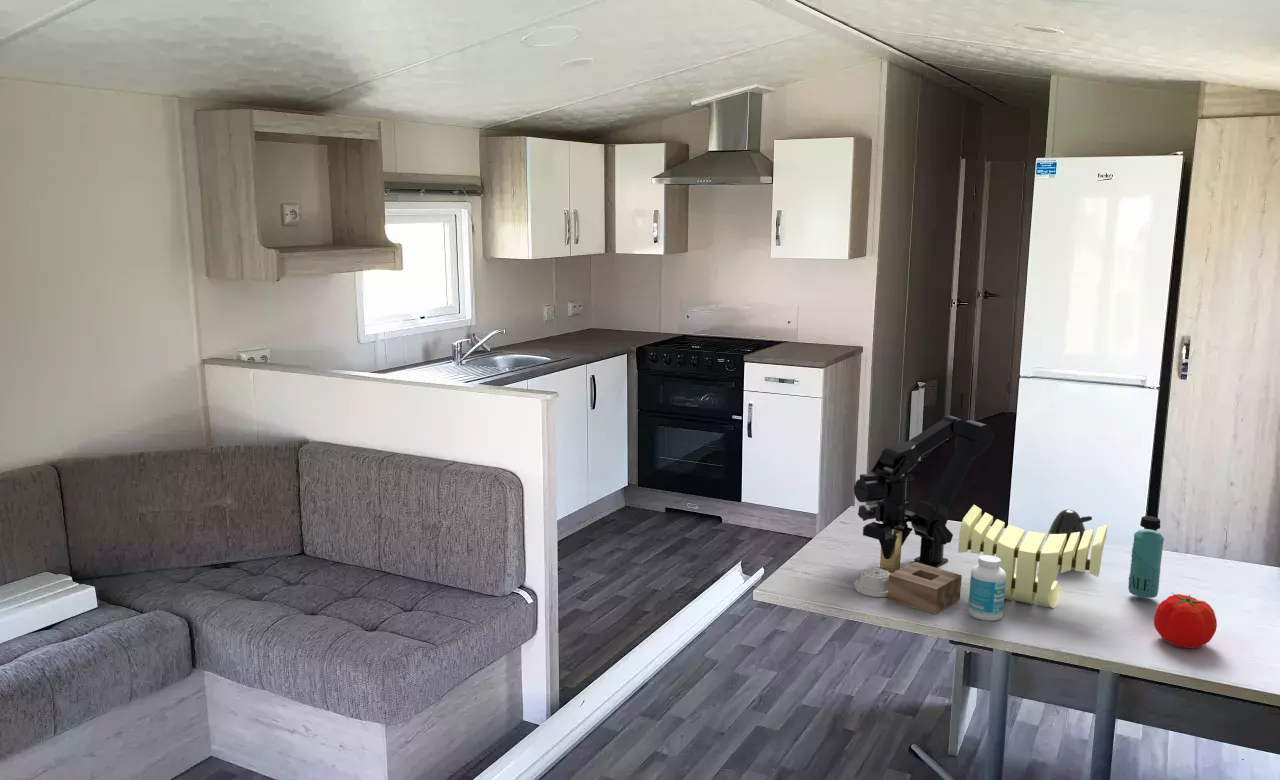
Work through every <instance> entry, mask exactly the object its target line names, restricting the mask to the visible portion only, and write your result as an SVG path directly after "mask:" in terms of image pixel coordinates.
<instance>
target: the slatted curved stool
mask: <svg viewBox="0 0 1280 780" xmlns="http://www.w3.org/2000/svg"><path fill="white" fill-rule="evenodd" d="M982 513H983V512H982V508H980V507H978V506H977V505H975V504H973V505H972V506H971V507H970V509H969V510H968V512H967V513H966V514H965V516H964V517H963V518H962V521H961V524H960V529H959V535H958V536H959V538H958V550H957V551H958V554H959V553H967V552H968V551H970V553H973V554H976V555H977V554H978V555H980V553H982V555H991V556H995V557H998V558H1000V559H1001V565H1000V568H1002V569H1003V570H1004V571H1005V573H1006V585H1005V596H1004V600H1005V599H1006V600H1009V601H1010V600H1012V599H1014V601H1016V602H1021V603H1024V604H1025V603H1026V604H1032V605H1033V604H1034V602H1035V604H1036V605H1037V606H1042V607H1047V608H1051V609H1052V608H1053V609H1055V608H1056V605H1057V604H1058V603H1057V602H1058V600H1059V597H1060V594H1061V592H1062V588H1061V586H1060V583H1059V581H1058V580H1056V578H1057V576H1058V574H1059V571H1060V570H1061V574H1062V573H1065V572H1070V571H1072V570H1071V568H1072V567H1073V568H1075V570H1074V571H1076V572H1081V573H1085V572H1086V571H1088V574H1090V575H1093V576H1095V577H1097V578H1098V577H1099V575H1100V571H1101V564H1102V557H1103V553H1104V552H1103V551H1104V546H1105V541H1106V538H1107V533H1108V524H1105V525H1101V526H1099V527H1097V529H1096V534H1095V536H1094V528H1092V529H1088V530H1087V529H1085V531H1084V534H1083V536H1082V539H1081V542H1080V545H1079V547H1078V550H1077V557H1074V556H1075V552H1076V548H1077V545H1078V542H1079V538H1080V532H1075V533H1071V535H1070V537H1069V540H1068V542H1067V545H1066V547H1065V550H1064V552H1063V555H1062V551H1063V548H1064V545H1065V543H1066V537H1067V534H1049V536H1048V539H1047V541H1046V533H1043V532H1035V531H1029V530H1028V532H1027V534H1026V535H1025V531H1026V530H1025V529H1024V528H1019V527H1017V526H1014V525H1012V524H1008V525H1007V526H1006V527H1005V523H1006V522H1004V521H1003V520H1000V519H998V518H997V519H995V521H994V516H993V515H991V514H989V513H987V512H986V511H985V512H984V514H983V515H982ZM993 521H994V522H993ZM1004 529H1005V530H1004ZM1002 533H1003V534H1002ZM1001 534H1002V535H1001ZM1024 536H1025V537H1024ZM1023 538H1024V539H1023ZM1093 538H1094V539H1093ZM1044 541H1045V542H1046V543H1045V542H1044ZM1092 541H1093V543H1092ZM1043 544H1044V545H1043ZM1091 544H1092V545H1091ZM1042 546H1043V547H1042ZM1041 548H1042V549H1041ZM1090 548H1091V551H1090ZM1089 553H1090V558H1089ZM1088 558H1089V559H1088ZM1038 563H1039V564H1038ZM1059 565H1061V566H1062V569H1059ZM1037 568H1038V569H1037ZM1037 570H1038V572H1037ZM1015 571H1016V573H1015ZM1037 573H1038V574H1037ZM1037 575H1038V576H1037ZM1036 576H1037V577H1036Z"/></svg>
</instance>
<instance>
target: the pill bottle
mask: <svg viewBox="0 0 1280 780" xmlns="http://www.w3.org/2000/svg"><path fill="white" fill-rule="evenodd" d="M977 560H978V561H977V562H978V564H976V565H974V566H973V567H972V568H971V571H970V582H969V593H968V594H969V597H968V607H967V611H968V614H969V615H970V616H972V617H973V618H975V619H977V620H981V621H985V622H995V621H999V620H1001V619H1002V618H1003V615H1004V606H1005V599H1004V596H1005V585H1006V573H1005V571H1004V570H1003V569H1002V568H1000V565H1001V559H1000V558H998V557H996V555H994V556H991V555H983V554H982V555H979V556H978V559H977Z"/></svg>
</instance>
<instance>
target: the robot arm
mask: <svg viewBox="0 0 1280 780" xmlns="http://www.w3.org/2000/svg"><path fill="white" fill-rule="evenodd" d="M955 435H956V436H955ZM953 436H955V451H954V452H953V455H952V456H951V457H950V460H949V462H948V464H947V465H946V468H944V471H943V473H942V475H941V477H940V478H939V480H938V482H937V484H936V485H935V487H934V489H933V491H932V493H931V495H930V497H929V498H928V499H926V500H925V501H923V500H918V501H917V503H916V504H915V507H914V509H913V510H911V511H909V510H906V508H907V507H909V506H910V502H909V501H907V484H908V482H907V481H914V480H915V477H914V476H913V474H911V473H910V471H911V470H913V468H914V467H915V466H917V464H918V462H919V460H920V458H922V456H924V455H925V454H926V453H928V452H930V451H932V450H933V449H935V448H936V447H938V446H939V445H941V444H942V443H945V441H947V440H949V439H950V438H951V437H953ZM994 437H995V434H994V431H993V429H992V427H991V426H990V425H989V424H985V423H982V422H977V421H975V420H972V419H970V420H969V419H968V420H965V421H964V420H962V418H958V417H955V416H952V415H945V416H943V417H942V418H941V419H940V420H939V421H937V422H936V423H934V424H933V425H931V426H930V427H928V428H927V429H925V430H924V431H922V432H920V433H919V434H917V435H916V436H914V437H912V438H911V439H909V440H906V441H903V442H902V441H901V442H898V443H897V442H896V443H894V444H891V445H890V446H887V447H885V448H884V449H883V450H882V451H881V455H880V456H879V458H878V459H877V461H876V462H875V464H874V465H873V467H872V468H871V470H870V473H871V474H867V473H863V474H860V475H859V479H857V480H856V481H855V483H854V485H853V492H854V497H855V498H856V500H857V501H858V502H859V503H869V502H876V501H877V503H875V504H869V505H868V504H862V505H859V506H858V513H857V516H859V518H860V519H862V521H863V522H865V521H867V520H873V519H875V521H872V522H869V523H867V524H866V525H864V526H863V527H862V535H863V536H864V537H868V538H871V539H874V540H878V542H879V546H880V549H881V548H882V552H883V555H884V558H885V559H889V557H890V555H891V553H892V550H893V547H894V545H895V542H896V539H897V536H896V535H893V533H894V529H896V530H900V531H902V543H901V548H902V547H903V545H904V543H906V541H907V538H909V535H911V532H912V531H913V530H914V531H913V532H914V535H915V536H919V537H921V538H920V546H919V547H920V548H919V549H920V550H919V556H917V557H915V558H914V561H913V562H917V563H921V564H924V565H928V566H931V567H935V568H938V567H940V566H941V565H944V564H946V563H947V562H949V558H947V557H946V558H945V557H944V551H945V550H944V549H945V548H944V547H945V545H947V544H949V543H951V542H952V539H953V537H954V534H953V532H951V530H950V529H948V527H947V526H946V525H947V523H948V521H949V510H948V509H949V505H950V504H951V502H952V500H953V498H954V496H955V494H956V492H957V491H958V489H959V487H960V485H961V484H962V482H963V480H964V478H965V476H966V474H967V472H968V471H969V469H970V467H971V465H972V463H973V462H974V459H976V458H977V457H978V456H980V455H981V454H983V453H985V451H986V450H987V449H988V448H989V446H990V445H991V444H992V442H993V440H994ZM888 470H889V471H888ZM908 522H909V523H911V527H909V525H908Z"/></svg>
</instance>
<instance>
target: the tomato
mask: <svg viewBox="0 0 1280 780" xmlns="http://www.w3.org/2000/svg"><path fill="white" fill-rule="evenodd" d="M1171 594H1172V595H1170V596H1168V597H1167V598H1166V599H1164V600H1162V601H1161V602H1160V603H1159V604H1157V606H1156V609H1155V613H1154V615H1153V616H1154V617H1153V625H1154V628H1155V631H1156V632H1157V633H1158V635H1159V636H1160V637H1161V638H1162V639H1163V640H1165V641H1166V642H1168V643H1170V644H1172V645H1173V646H1176V647H1177V648H1178V647H1179V648H1187V649H1195V648H1200V647H1202V646H1205V645H1206V644H1208V643H1209V642H1211V640H1212V639H1213V637H1214V635H1215V633H1216V632H1217V627H1218V625H1217V624H1218V622H1217V617H1216V613H1215V611H1214V609H1213V607H1212V606H1211V605H1210V604H1209V603H1208V602H1207V601H1205V600H1198V599H1197V598H1195V597H1193V596H1191V594H1188V595H1186V594H1180V593H1178V594H1175V593H1174V592H1171Z"/></svg>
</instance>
